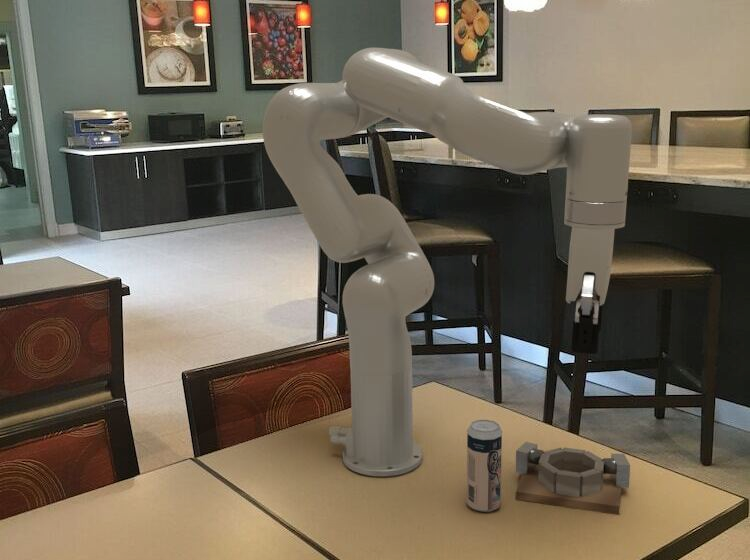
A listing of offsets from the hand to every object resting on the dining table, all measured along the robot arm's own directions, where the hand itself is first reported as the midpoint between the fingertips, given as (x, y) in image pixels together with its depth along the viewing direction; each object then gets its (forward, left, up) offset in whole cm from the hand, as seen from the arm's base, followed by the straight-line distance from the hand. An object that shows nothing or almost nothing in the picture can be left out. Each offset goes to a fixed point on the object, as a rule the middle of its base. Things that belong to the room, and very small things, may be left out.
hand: (586, 340), depth 105 cm
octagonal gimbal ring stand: (-2, +4, -24) cm, 24 cm away
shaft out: (+4, +6, -22) cm, 24 cm away
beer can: (-13, -5, -24) cm, 27 cm away
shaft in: (-8, +6, -23) cm, 24 cm away
